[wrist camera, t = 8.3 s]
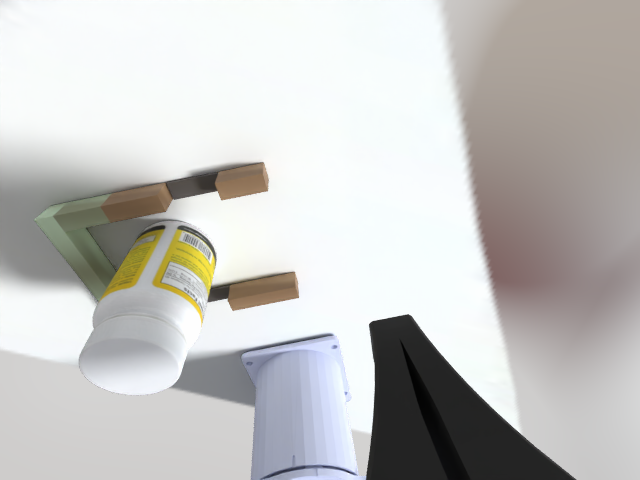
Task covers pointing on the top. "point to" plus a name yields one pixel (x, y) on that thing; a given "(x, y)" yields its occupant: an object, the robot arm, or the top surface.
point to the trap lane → (74, 217)
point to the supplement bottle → (151, 311)
